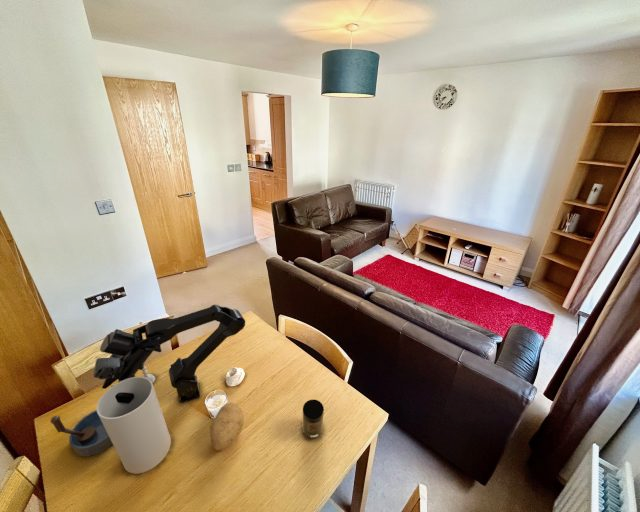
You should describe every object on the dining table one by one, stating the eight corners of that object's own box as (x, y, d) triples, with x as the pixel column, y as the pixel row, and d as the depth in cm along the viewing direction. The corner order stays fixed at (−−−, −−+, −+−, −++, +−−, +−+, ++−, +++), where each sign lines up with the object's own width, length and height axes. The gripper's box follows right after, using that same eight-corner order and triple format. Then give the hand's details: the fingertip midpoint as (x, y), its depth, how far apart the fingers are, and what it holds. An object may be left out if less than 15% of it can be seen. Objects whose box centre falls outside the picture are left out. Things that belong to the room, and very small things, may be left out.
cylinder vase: (137, 485, 75) (110, 428, 65) (115, 457, 81) (87, 402, 70) (179, 445, 85) (162, 390, 74) (157, 423, 91) (138, 369, 80)
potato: (204, 457, 82) (200, 441, 79) (220, 413, 95) (217, 398, 91) (236, 459, 82) (233, 443, 78) (248, 414, 95) (246, 399, 91)
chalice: (148, 390, 102) (135, 355, 94) (132, 387, 103) (118, 351, 95) (162, 374, 108) (151, 340, 100) (147, 371, 109) (135, 337, 102)
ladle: (97, 426, 88) (84, 401, 83) (94, 439, 85) (81, 414, 80) (67, 437, 85) (51, 412, 80) (63, 451, 82) (46, 425, 76)
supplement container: (319, 417, 95) (320, 397, 90) (325, 436, 89) (326, 416, 84) (300, 422, 93) (300, 402, 88) (305, 442, 87) (305, 421, 82)
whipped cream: (238, 390, 104) (238, 382, 102) (221, 387, 104) (221, 379, 102) (246, 372, 111) (246, 364, 108) (230, 369, 111) (230, 361, 109)
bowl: (128, 408, 95) (125, 401, 94) (120, 445, 84) (117, 437, 83) (81, 422, 90) (77, 415, 89) (67, 464, 79) (61, 456, 78)
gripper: (108, 332, 86) (75, 373, 85) (107, 373, 72) (68, 422, 71) (143, 342, 94) (113, 379, 93) (148, 380, 80) (114, 424, 79)
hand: (103, 399), depth 84 cm, fingers open, 9 cm apart
